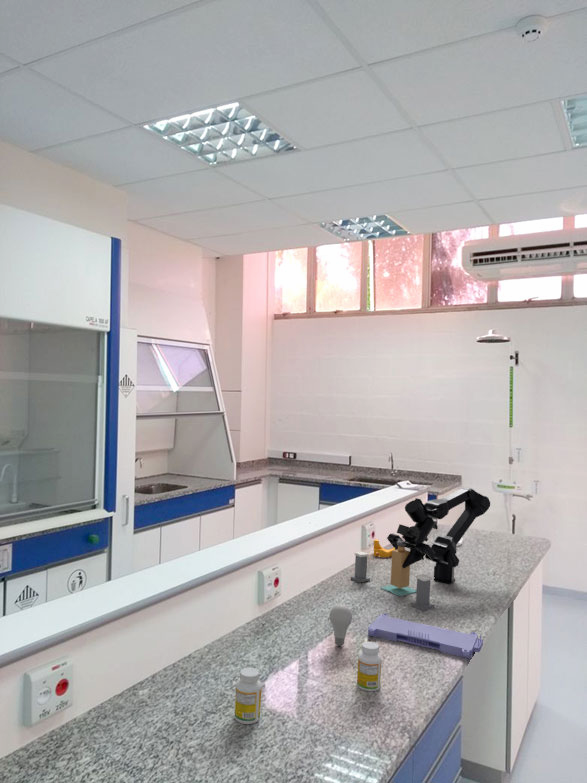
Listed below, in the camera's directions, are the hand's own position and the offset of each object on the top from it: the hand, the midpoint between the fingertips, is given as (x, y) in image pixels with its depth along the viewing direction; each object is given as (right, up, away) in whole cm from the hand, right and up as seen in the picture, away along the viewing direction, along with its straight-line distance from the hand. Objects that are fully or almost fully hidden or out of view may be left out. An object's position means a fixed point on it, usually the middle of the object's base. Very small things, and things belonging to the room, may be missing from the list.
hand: (397, 565), depth 208 cm
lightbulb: (-24, -8, -47) cm, 53 cm away
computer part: (+1, -10, -40) cm, 42 cm away
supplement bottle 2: (-19, -9, -68) cm, 71 cm away
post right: (-12, -8, +10) cm, 18 cm away
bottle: (+1, -7, +1) cm, 7 cm away
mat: (+1, -9, +1) cm, 9 cm away
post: (+6, -9, -14) cm, 18 cm away
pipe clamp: (+3, -9, +44) cm, 45 cm away
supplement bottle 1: (-46, -7, -84) cm, 96 cm away
